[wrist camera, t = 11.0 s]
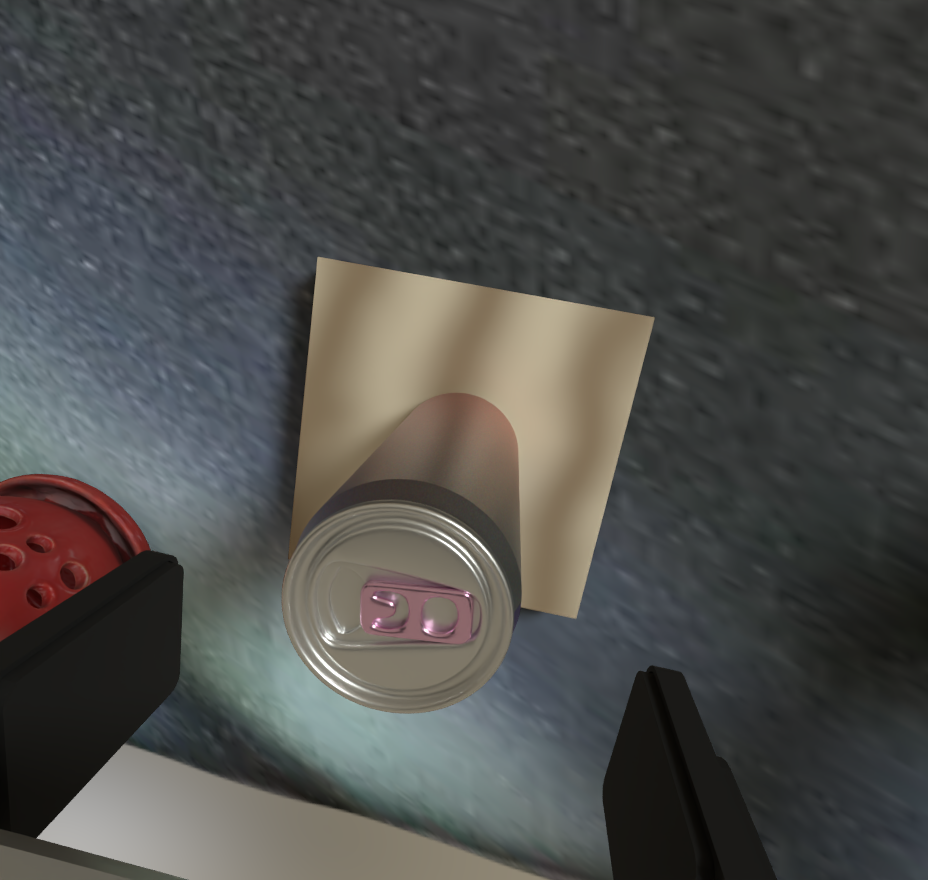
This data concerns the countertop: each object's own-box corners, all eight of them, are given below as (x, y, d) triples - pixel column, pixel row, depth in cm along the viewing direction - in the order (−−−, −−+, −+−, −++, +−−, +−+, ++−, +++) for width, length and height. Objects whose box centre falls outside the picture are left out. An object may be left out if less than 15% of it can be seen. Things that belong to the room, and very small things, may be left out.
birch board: (642, 316, 27) (654, 317, 25) (571, 595, 31) (576, 618, 29) (334, 260, 28) (317, 256, 25) (304, 540, 32) (288, 558, 30)
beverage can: (513, 509, 28) (510, 735, 13) (398, 498, 28) (275, 706, 14) (523, 394, 26) (534, 508, 12) (402, 386, 27) (268, 483, 12)
